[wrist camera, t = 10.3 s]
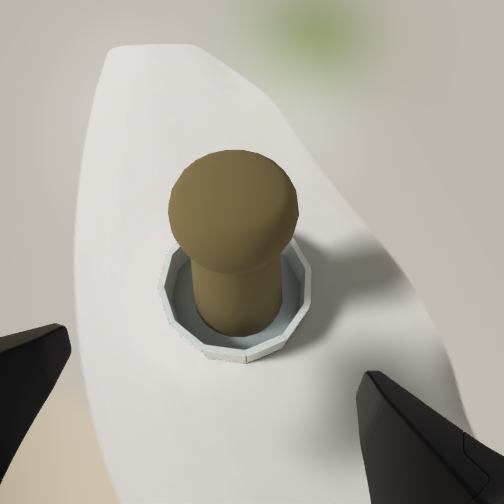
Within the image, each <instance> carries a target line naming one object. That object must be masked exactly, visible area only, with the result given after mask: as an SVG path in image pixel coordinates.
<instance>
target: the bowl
mask: <svg viewBox="0 0 504 504" xmlns="http://www.w3.org/2000/svg"><path fill="white" fill-rule="evenodd" d="M281 273H282V299H283V301H282V305H281V308H280V311H279V314H278V315H277V317H276V318H275V319H274V321H273V322H272V323H271V325H270V326H268V327H267V328H265V329H264V330H262V331H261V332H259V333H257V334H254V335H250V336H247V337H229V336H226V335H223V334H220V333H217V332H215V331H214V330H213V329H211V328H210V327H209V326H207V325H206V324H205V323H204V321H203V320H202V318H201V317H200V315H199V314H198V312H197V309H196V305H195V301H194V292H193V281H192V268H191V258H190V257H189V256H188V255H186V254H185V253H184V251H183V250H182V248H181V247H180V245H179V244H178V242H177V243H176V244H175V245H174V246H173V247H172V248H171V249H170V250H169V251H168V253H167V255H166V258H165V262H164V265H163V269H162V273H161V277H160V281H159V284H158V290H159V294H160V297H161V300H162V304H163V307H164V310H165V313H166V316H167V319H168V322H169V324H170V326H171V327H172V328H173V329H174V330H175V331H176V332H177V333H178V334H179V335H180V336H181V337H182V338H183V339H184V340H186V341H187V342H188V343H189V344H190V345H192V346H193V347H194V348H195V349H197V350H198V351H199V352H200V353H202V354H203V355H204V356H205V357H207V358H208V359H215V360H222V361H229V362H237V363H245V364H246V363H249V362H251V361H254V360H256V359H259V358H261V357H263V356H266V355H268V354H270V353H273V352H275V351H277V350H279V349H281V348H282V347H283V346H284V344H285V343H286V342H287V340H288V339H289V338H290V336H291V335H292V333H293V332H294V330H295V329H296V328H297V326H298V325H299V323H300V322H301V320H302V319H303V317H304V316H305V314H306V312H307V311H308V309H309V307H310V304H311V273H312V269H311V267H310V265H309V263H308V261H307V260H306V258H305V256H304V254H303V253H302V251H301V249H300V247H299V246H298V244H297V242H296V241H295V239H294V238H293V237H292V240H291V241H290V242H289V243H288V245H287V246H286V247H285V249H284V250H283V251H282V252H281Z"/></svg>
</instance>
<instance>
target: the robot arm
mask: <svg viewBox="0 0 504 504" xmlns="http://www.w3.org/2000/svg"><path fill="white" fill-rule="evenodd" d="M70 354H71V344H70V340H69V335H68V331H67V329H66V327H65V326H63V325H60V324H56V323H54V324H50V325H46V326H43V327H39V328H35V329H31V330H27V331H23V332H19V333H15V334H11V335H7V336H4V337H0V484H1V482H2V479H3V477H4V475H5V473H6V471H7V469H8V467H9V465H10V463H11V461H12V459H13V457H14V455H15V454H16V452H17V450H18V448H19V446H20V444H21V442H22V440H23V439H24V437H25V435H26V433H27V431H28V430H29V428H30V426H31V425H32V423H33V421H34V419H35V418H36V416H37V414H38V413H39V411H40V409H41V408H42V406H43V404H44V403H45V401H46V400H47V398H48V396H49V395H50V393H51V391H52V390H53V388H54V386H55V384H56V382H57V380H58V378H59V376H60V374H61V372H62V370H63V368H64V366H65V364H66V362H67V360H68V359H69V357H70ZM356 403H357V413H358V424H359V436H360V444H361V450H362V455H363V460H364V465H365V470H366V476H367V481H368V487H369V492H370V498H371V504H504V456H502V455H501V454H499V453H497V452H495V451H493V450H492V449H490V448H488V447H487V446H485V445H483V444H482V443H480V442H479V441H477V440H476V439H474V438H473V437H471V436H470V435H469V434H467V433H466V432H463V430H461V429H460V428H459V427H457V426H456V425H454V424H453V423H451V422H450V421H449V420H447V419H446V418H444V417H443V416H442V415H440V414H439V413H437V412H436V411H435V410H433V409H432V408H430V407H429V406H428V405H426V404H425V403H423V402H422V401H421V400H419V399H418V398H416V397H415V396H414V395H412V394H411V393H409V392H408V391H407V390H405V389H404V388H403V387H401V386H400V385H398V384H397V383H396V382H394V381H393V380H392V379H390V378H389V377H387V376H386V375H385V374H383V373H382V372H381V371H366V372H365V373H364V375H363V378H362V381H361V383H360V386H359V388H358V391H357V395H356Z"/></svg>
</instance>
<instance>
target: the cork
mask: <svg viewBox="0 0 504 504" xmlns="http://www.w3.org/2000/svg"><path fill="white" fill-rule="evenodd" d="M168 215H169V220H170V226H171V230H172V233H173V235H174V238H175V239H176V241H177V242H178V244H179V245H180V247H181V248H182V250H183V251H184V253H185V254H186V255H188V256H189V257H190V258H191V268H192V281H193V292H194V301H195V305H196V309H197V312H198V314H199V315H200V317H201V318H202V320H203V321H204V323H205V324H206V325H207V326H209V327H210V328H211V329H213V330H214V331H215V332H217V333H220V334H223V335H226V336H229V337H247V336H250V335H254V334H257V333H259V332H261V331H262V330H264V329H265V328H267V327H268V326H270V325H271V323H272V322H273V321H274V319H275V318H276V317H277V315H278V314H279V311H280V308H281V305H282V301H283V299H282V273H281V252H282V251H283V250H284V249H285V247H286V246H287V245H288V243H289V242H290V241H291V240H292V237H293V234H294V230H295V227H296V224H297V220H298V216H299V211H298V201H297V194H296V189H295V188H294V186H293V184H292V182H291V180H290V178H289V177H288V175H287V174H286V173H285V171H284V170H283V169H282V168H281V167H280V166H278V165H277V164H276V163H275V162H274V161H273V160H271V159H269V158H267V157H265V156H263V155H261V154H258V153H254V152H250V151H245V150H224V151H220V152H215V153H211V154H208V155H206V156H204V157H202V158H200V159H198V160H196V161H195V162H193V163H192V164H191V165H190V166H188V167H187V168H186V169H185V170H184V171H183V173H182V174H181V176H180V177H179V179H178V180H177V182H176V183H175V185H174V187H173V188H172V192H171V196H170V201H169V208H168Z"/></svg>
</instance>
